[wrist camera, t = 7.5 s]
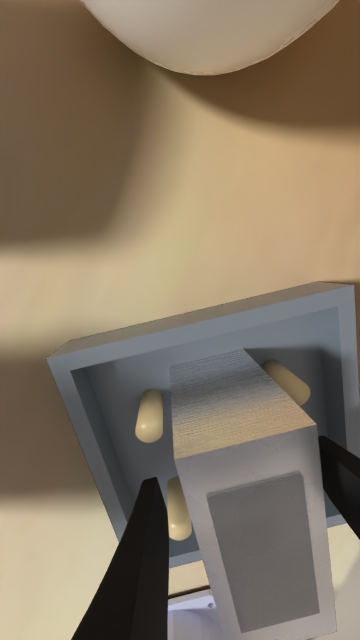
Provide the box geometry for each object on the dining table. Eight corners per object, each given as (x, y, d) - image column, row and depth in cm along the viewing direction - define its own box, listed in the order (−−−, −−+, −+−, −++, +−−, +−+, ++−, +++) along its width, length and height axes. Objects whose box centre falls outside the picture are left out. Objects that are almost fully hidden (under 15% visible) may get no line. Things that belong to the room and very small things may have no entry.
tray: (333, 479, 16) (380, 538, 12) (137, 529, 16) (130, 602, 12) (317, 281, 12) (374, 286, 9) (69, 340, 12) (32, 368, 9)
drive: (265, 481, 14) (339, 636, 8) (203, 496, 14) (231, 664, 8) (242, 348, 12) (319, 426, 6) (169, 366, 12) (173, 462, 6)
